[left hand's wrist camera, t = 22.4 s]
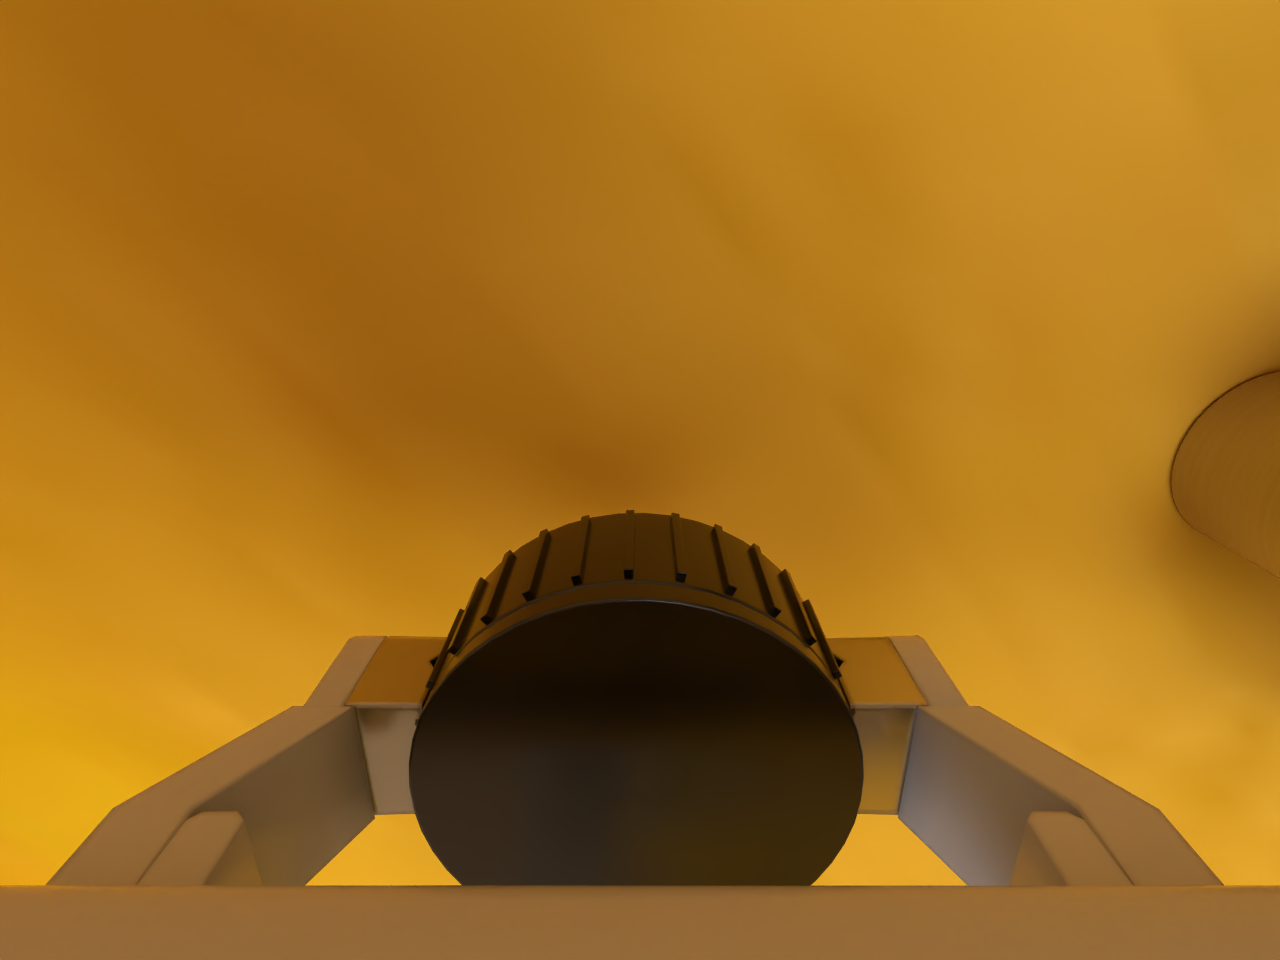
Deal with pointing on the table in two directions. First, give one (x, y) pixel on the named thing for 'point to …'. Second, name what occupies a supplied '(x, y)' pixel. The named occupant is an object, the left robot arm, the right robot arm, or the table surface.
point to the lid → (636, 717)
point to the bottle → (1235, 472)
